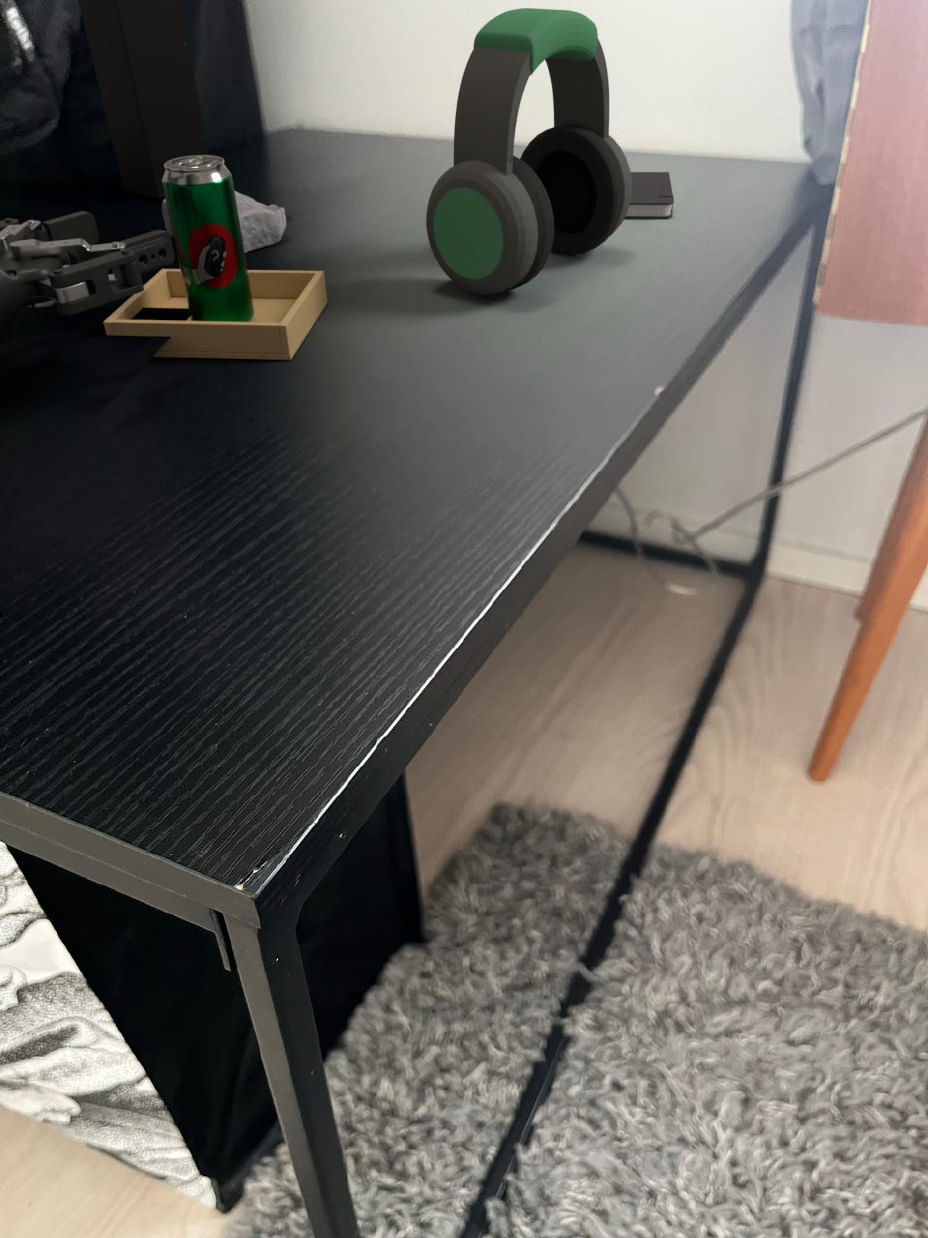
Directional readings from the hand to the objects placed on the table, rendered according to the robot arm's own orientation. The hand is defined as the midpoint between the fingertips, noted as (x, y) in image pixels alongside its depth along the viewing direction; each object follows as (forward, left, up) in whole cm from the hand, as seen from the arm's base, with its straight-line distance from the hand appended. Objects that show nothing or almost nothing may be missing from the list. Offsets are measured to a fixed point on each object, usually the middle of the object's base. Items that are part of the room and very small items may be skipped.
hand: (130, 235), depth 67 cm
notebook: (+30, +44, -9) cm, 54 cm away
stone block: (-4, +30, -9) cm, 31 cm away
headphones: (+27, +21, -9) cm, 36 cm away
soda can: (+3, +6, -9) cm, 11 cm away
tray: (+3, +6, -9) cm, 11 cm away
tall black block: (-18, +49, -9) cm, 53 cm away
